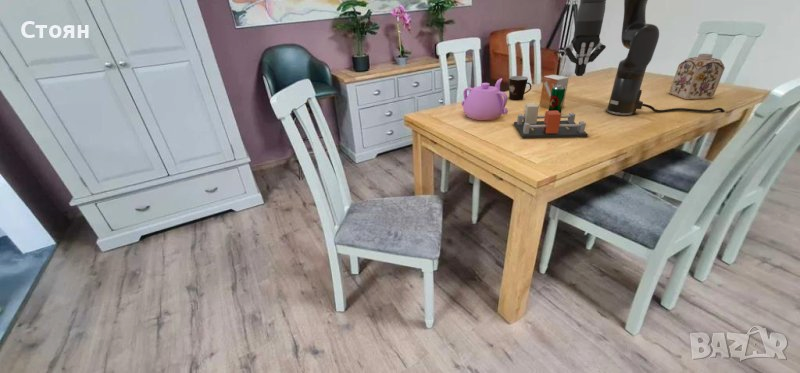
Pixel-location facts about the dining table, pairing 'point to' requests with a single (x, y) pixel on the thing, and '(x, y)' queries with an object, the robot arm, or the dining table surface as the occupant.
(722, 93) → the dining table surface
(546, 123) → the terracotta marker
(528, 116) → the ivory marker
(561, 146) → the dining table surface
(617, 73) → the robot arm
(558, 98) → the soda can
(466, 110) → the teapot
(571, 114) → the score rack
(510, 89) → the coffee mug
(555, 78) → the small box
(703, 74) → the decorative jar
